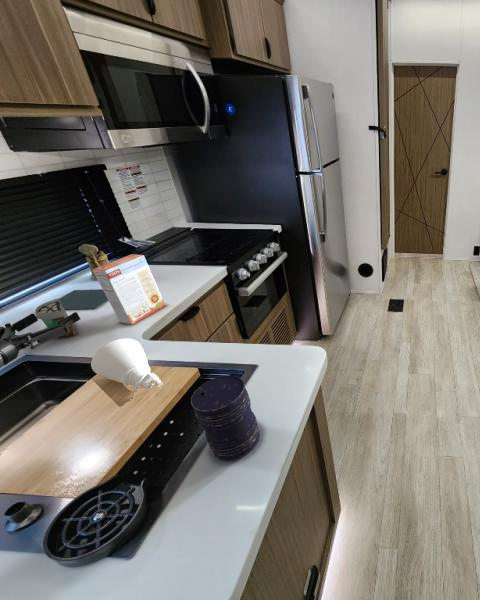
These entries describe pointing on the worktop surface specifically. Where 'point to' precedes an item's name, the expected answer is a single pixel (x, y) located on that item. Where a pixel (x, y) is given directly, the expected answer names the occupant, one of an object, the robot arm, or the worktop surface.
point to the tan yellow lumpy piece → (93, 257)
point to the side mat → (83, 299)
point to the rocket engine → (124, 364)
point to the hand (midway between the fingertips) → (56, 316)
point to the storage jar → (226, 417)
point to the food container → (53, 315)
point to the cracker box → (130, 288)
